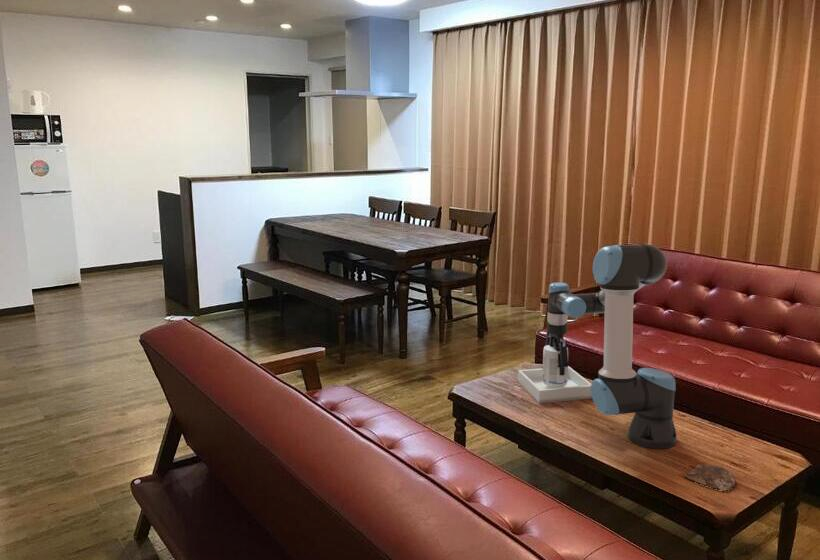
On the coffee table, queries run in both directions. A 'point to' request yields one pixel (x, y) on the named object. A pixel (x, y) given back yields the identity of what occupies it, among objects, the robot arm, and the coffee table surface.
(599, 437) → the coffee table surface
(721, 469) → the shell
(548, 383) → the supplement tub
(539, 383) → the white bin
